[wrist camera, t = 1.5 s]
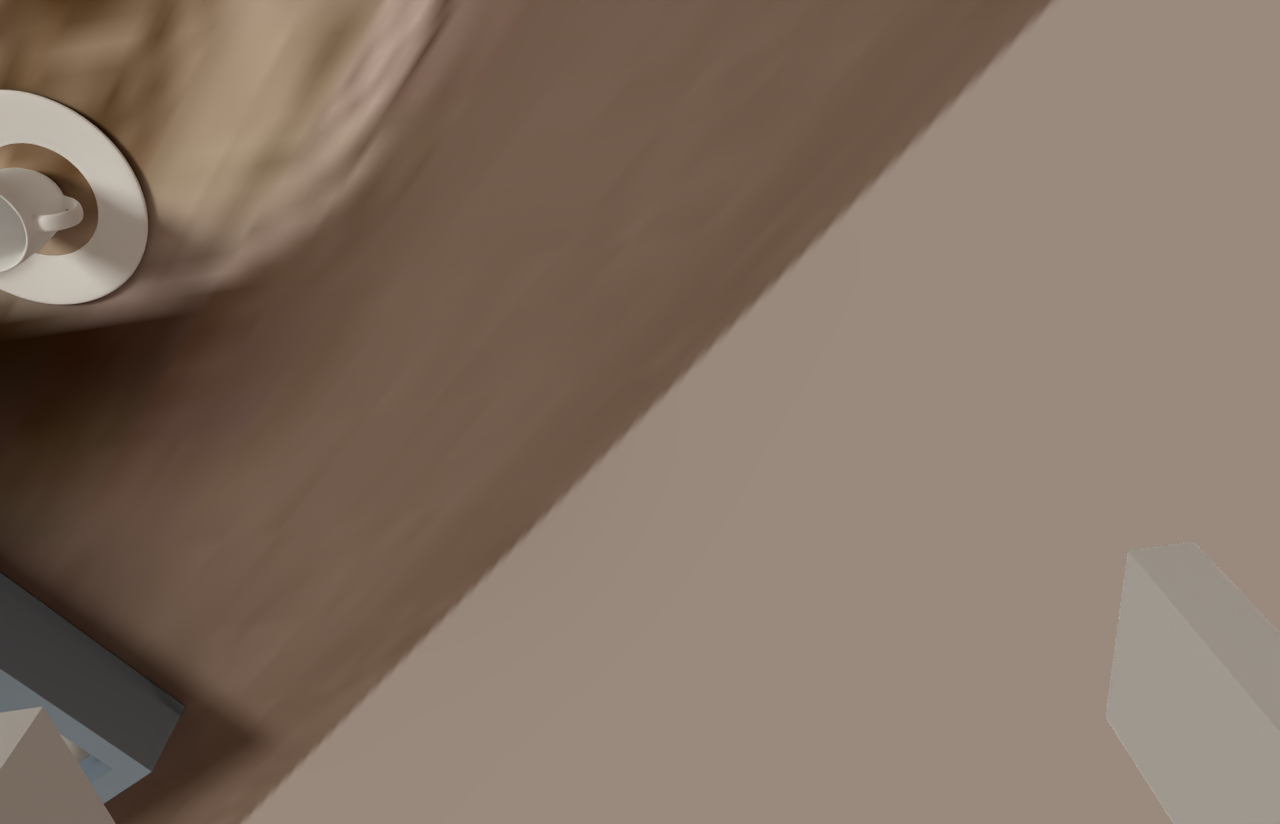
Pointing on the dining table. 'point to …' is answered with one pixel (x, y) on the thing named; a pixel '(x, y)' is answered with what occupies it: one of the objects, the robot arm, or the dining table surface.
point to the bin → (82, 692)
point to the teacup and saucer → (65, 207)
